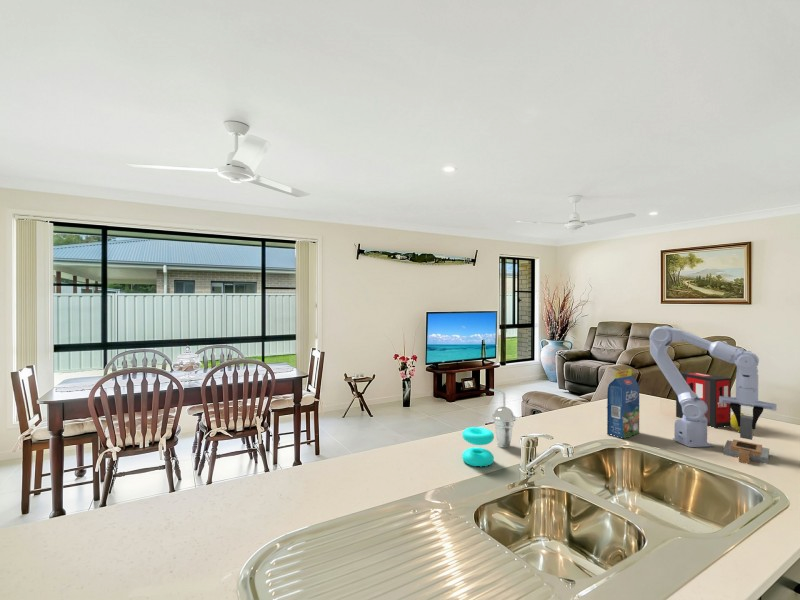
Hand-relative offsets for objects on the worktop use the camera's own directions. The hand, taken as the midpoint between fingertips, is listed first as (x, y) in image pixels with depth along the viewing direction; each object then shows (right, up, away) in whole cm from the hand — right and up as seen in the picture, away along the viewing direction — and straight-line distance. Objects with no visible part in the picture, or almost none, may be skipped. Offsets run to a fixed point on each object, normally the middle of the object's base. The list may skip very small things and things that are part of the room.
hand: (746, 427), depth 133 cm
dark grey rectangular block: (0, -3, 0) cm, 3 cm away
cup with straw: (-81, -9, +7) cm, 82 cm away
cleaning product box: (+13, -9, +36) cm, 40 cm away
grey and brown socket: (-2, -9, -2) cm, 9 cm away
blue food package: (-31, -9, +19) cm, 38 cm away
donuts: (-93, -9, -7) cm, 93 cm away
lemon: (+17, -10, +23) cm, 30 cm away
